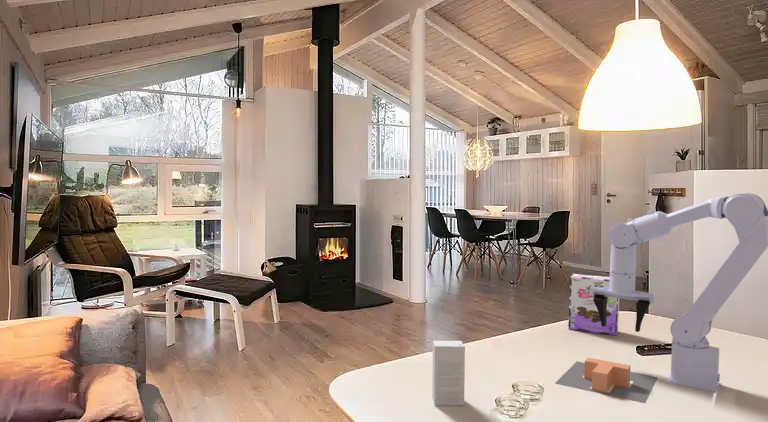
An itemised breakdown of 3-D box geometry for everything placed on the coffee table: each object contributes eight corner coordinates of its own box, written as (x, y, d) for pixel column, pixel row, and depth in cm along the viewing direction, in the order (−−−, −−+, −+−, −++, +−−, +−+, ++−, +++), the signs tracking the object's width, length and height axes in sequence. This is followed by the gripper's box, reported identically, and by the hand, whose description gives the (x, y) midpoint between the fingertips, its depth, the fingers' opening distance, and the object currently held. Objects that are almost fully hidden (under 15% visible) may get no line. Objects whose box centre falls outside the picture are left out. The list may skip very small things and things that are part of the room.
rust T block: (629, 383, 120) (630, 365, 119) (621, 396, 112) (622, 377, 112) (587, 374, 125) (588, 357, 124) (577, 386, 117) (577, 368, 117)
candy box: (567, 329, 165) (569, 275, 164) (570, 325, 170) (572, 272, 169) (616, 336, 158) (619, 280, 157) (618, 331, 164) (620, 277, 163)
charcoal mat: (657, 379, 124) (657, 376, 124) (644, 405, 109) (644, 403, 109) (576, 363, 134) (576, 361, 134) (554, 385, 119) (554, 383, 119)
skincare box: (460, 397, 112) (461, 340, 111) (464, 406, 107) (465, 346, 107) (431, 397, 111) (432, 340, 111) (433, 406, 107) (435, 346, 106)
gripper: (658, 273, 130) (656, 329, 131) (595, 267, 138) (593, 320, 139) (654, 277, 124) (651, 336, 125) (588, 271, 132) (586, 325, 133)
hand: (620, 328), depth 132 cm, fingers open, 7 cm apart
